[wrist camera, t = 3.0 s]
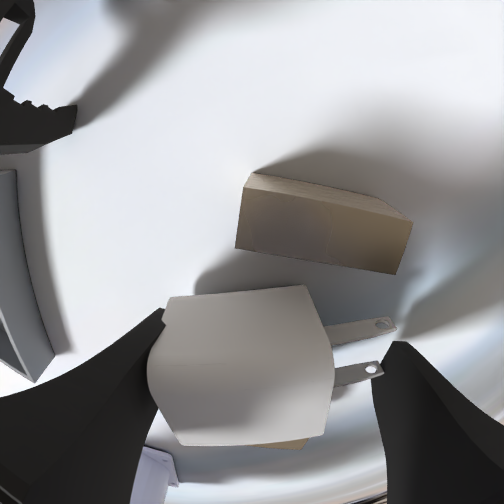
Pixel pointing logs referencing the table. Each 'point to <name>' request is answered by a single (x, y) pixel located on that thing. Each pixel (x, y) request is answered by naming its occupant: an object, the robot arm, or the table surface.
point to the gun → (25, 114)
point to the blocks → (319, 230)
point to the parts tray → (18, 294)
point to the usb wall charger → (251, 366)
